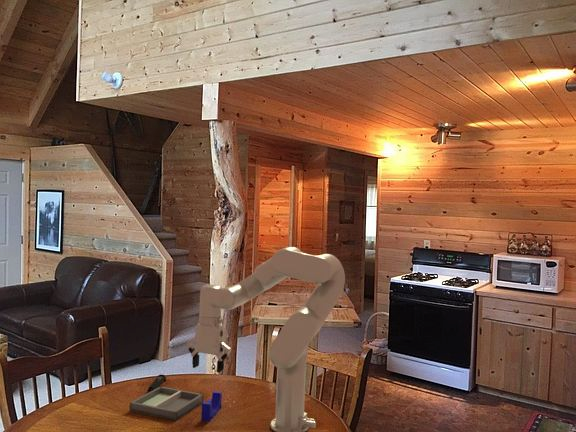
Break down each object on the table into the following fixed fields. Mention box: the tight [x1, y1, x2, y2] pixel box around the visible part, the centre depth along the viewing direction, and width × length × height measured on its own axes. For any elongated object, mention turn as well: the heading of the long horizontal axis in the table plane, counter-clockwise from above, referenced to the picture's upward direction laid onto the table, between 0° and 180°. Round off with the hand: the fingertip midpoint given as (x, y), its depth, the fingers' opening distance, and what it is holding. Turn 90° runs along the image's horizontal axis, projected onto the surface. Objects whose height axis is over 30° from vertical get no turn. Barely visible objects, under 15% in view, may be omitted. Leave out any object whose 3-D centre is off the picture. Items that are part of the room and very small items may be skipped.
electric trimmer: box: [147, 374, 167, 392], centre depth 202 cm, size 4×16×3 cm, turn 176°
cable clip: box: [200, 390, 223, 422], centre depth 176 cm, size 12×4×6 cm, turn 169°
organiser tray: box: [129, 385, 205, 422], centre depth 181 cm, size 19×18×3 cm
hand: (207, 369), depth 176 cm, fingers open, 9 cm apart
